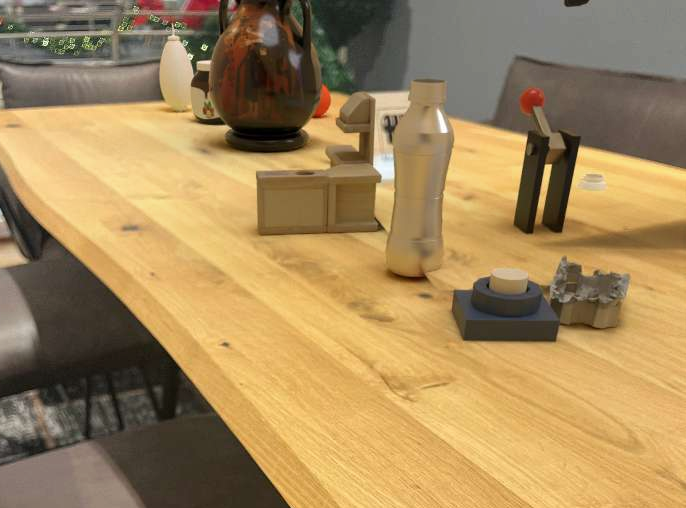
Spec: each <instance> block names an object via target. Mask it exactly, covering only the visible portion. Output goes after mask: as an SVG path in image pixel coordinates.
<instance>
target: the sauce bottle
mask: <svg viewBox="0 0 686 508" xmlns="http://www.w3.org/2000/svg"><path fill="white" fill-rule="evenodd" d="M180 40H181V38H180V36H179V35H175V26H174V23H173V22H171V35H168V36H167V42H166V43H165V45H164V48H163V50H162V54H161V57H160V61H159V62H160V63H159V71H158V72H159V87H160V91H161V94H162V97H163V99H164V101H165V103H166V104H167V105H168V106H170V107H171V109H172V110H175V112H178V113H180V112H181V113H183V112H184V111H185V110H187V109H188V106H190V105H191V92H190V85H191V81H192V78H193V77H194V75H195V74H194V70H193V66H192V62H191V59H190V57H189V54H188V52H187V50H186V48H185V46H184V44H183V43H182V42H181V41H180Z"/></svg>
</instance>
